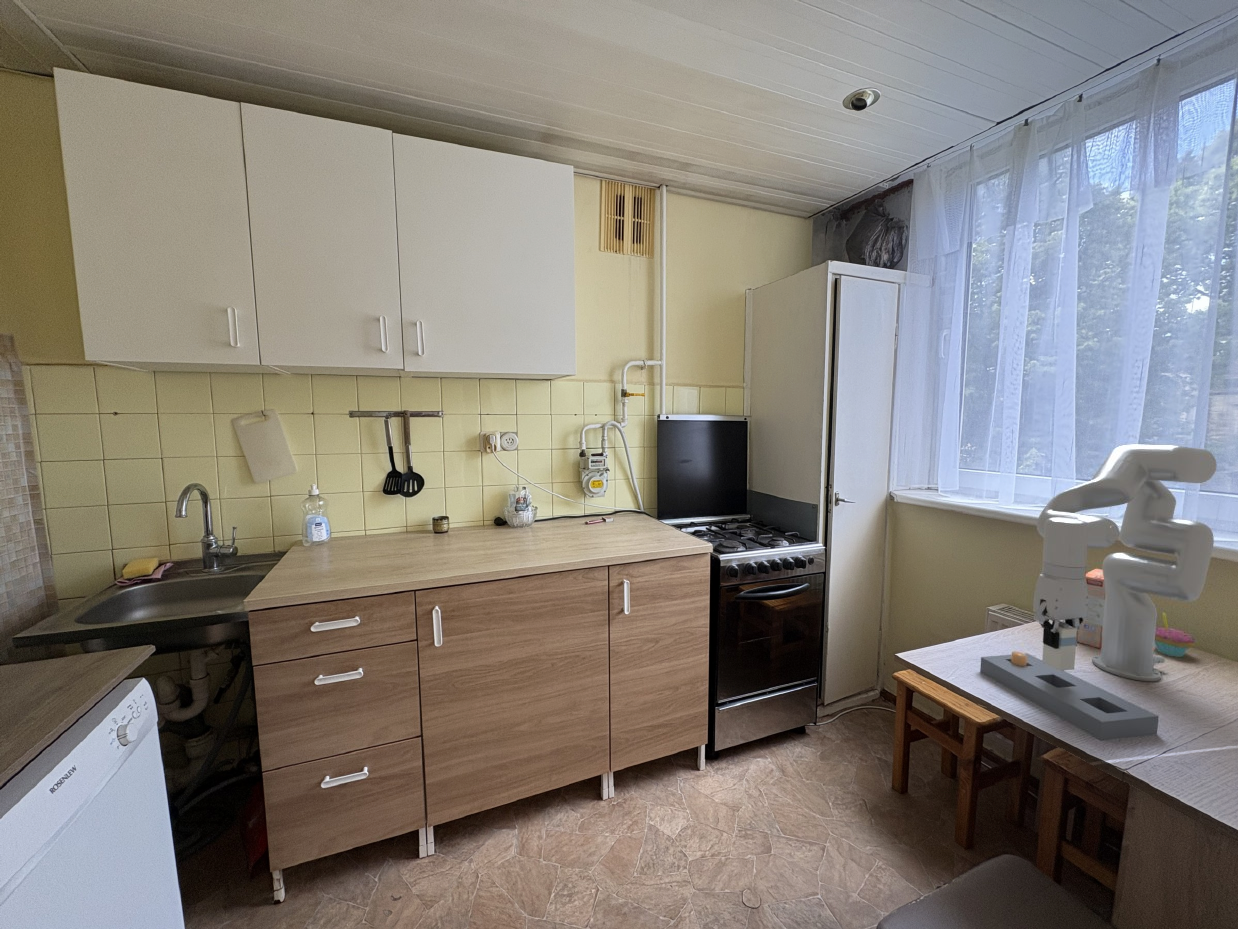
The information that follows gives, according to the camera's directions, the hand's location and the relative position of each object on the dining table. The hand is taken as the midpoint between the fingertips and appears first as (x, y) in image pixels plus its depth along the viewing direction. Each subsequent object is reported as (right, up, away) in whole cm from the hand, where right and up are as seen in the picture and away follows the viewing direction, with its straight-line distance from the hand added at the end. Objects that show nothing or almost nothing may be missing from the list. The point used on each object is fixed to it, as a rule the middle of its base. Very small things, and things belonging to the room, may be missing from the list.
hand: (1059, 644), depth 113 cm
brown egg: (-2, -12, +10) cm, 16 cm away
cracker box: (+41, -11, +32) cm, 53 cm away
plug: (0, -5, 0) cm, 5 cm away
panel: (0, -14, 0) cm, 14 cm away
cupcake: (+54, -12, +23) cm, 60 cm away
